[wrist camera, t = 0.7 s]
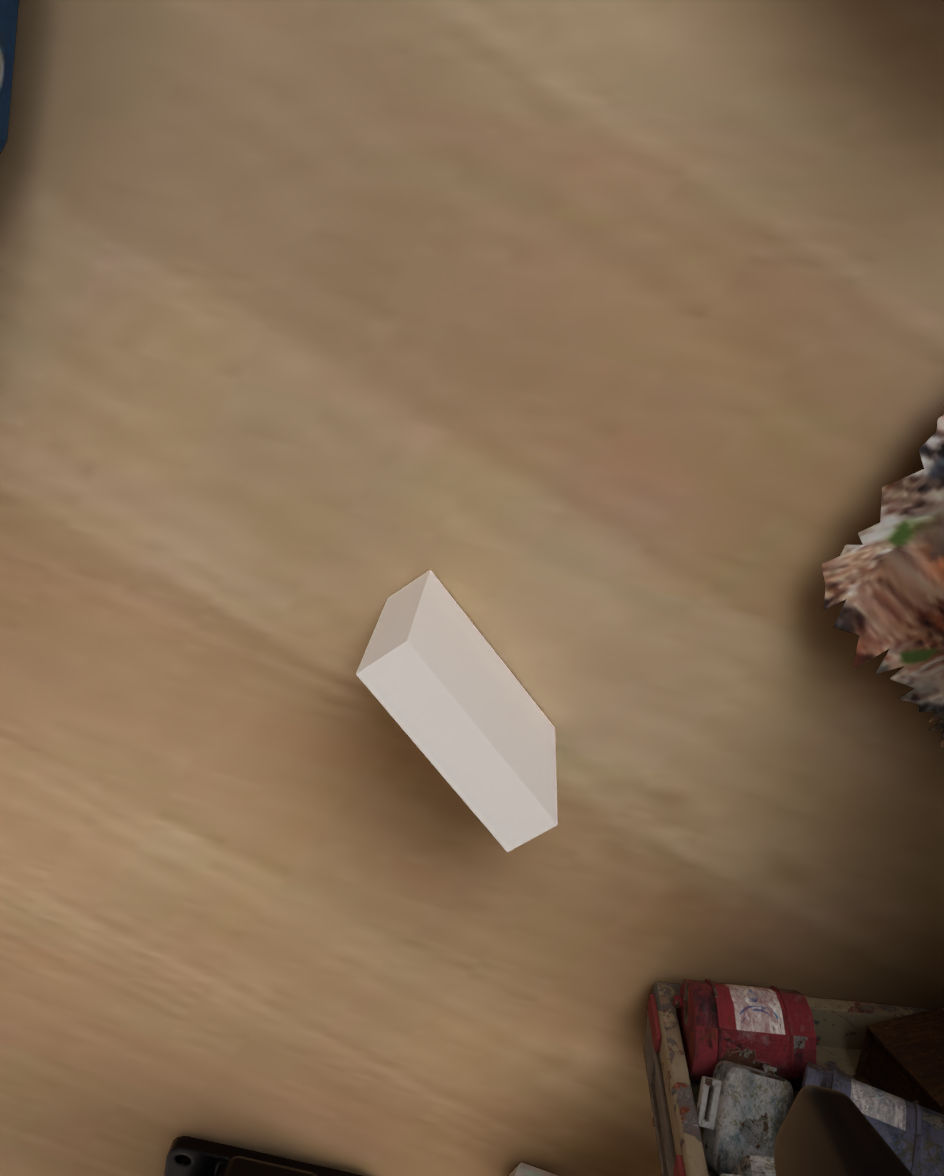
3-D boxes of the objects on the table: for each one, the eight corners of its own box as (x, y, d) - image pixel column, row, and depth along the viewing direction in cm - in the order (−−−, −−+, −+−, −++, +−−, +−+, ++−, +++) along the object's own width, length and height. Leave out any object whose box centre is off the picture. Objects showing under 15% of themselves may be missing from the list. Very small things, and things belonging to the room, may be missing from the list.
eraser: (430, 567, 19) (406, 641, 16) (556, 726, 21) (559, 826, 17) (386, 596, 20) (353, 675, 16) (513, 751, 21) (507, 854, 18)
